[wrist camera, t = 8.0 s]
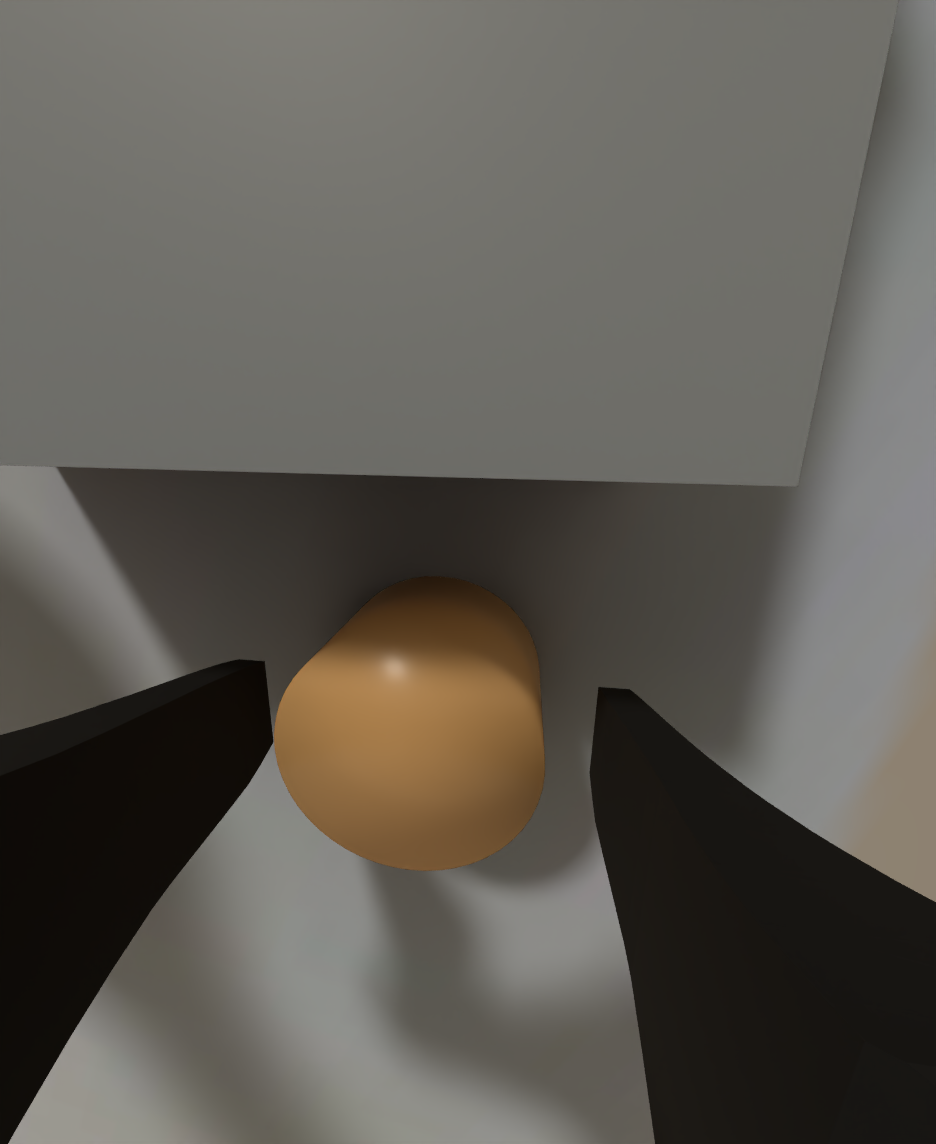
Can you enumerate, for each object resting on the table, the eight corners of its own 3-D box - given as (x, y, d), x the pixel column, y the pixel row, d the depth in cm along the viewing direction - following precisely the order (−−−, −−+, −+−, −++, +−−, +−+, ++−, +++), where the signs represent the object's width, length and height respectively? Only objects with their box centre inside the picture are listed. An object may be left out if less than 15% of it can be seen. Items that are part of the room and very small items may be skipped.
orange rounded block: (439, 786, 13) (409, 909, 9) (306, 660, 12) (223, 743, 9) (581, 680, 11) (605, 779, 8) (439, 532, 11) (400, 573, 7)
